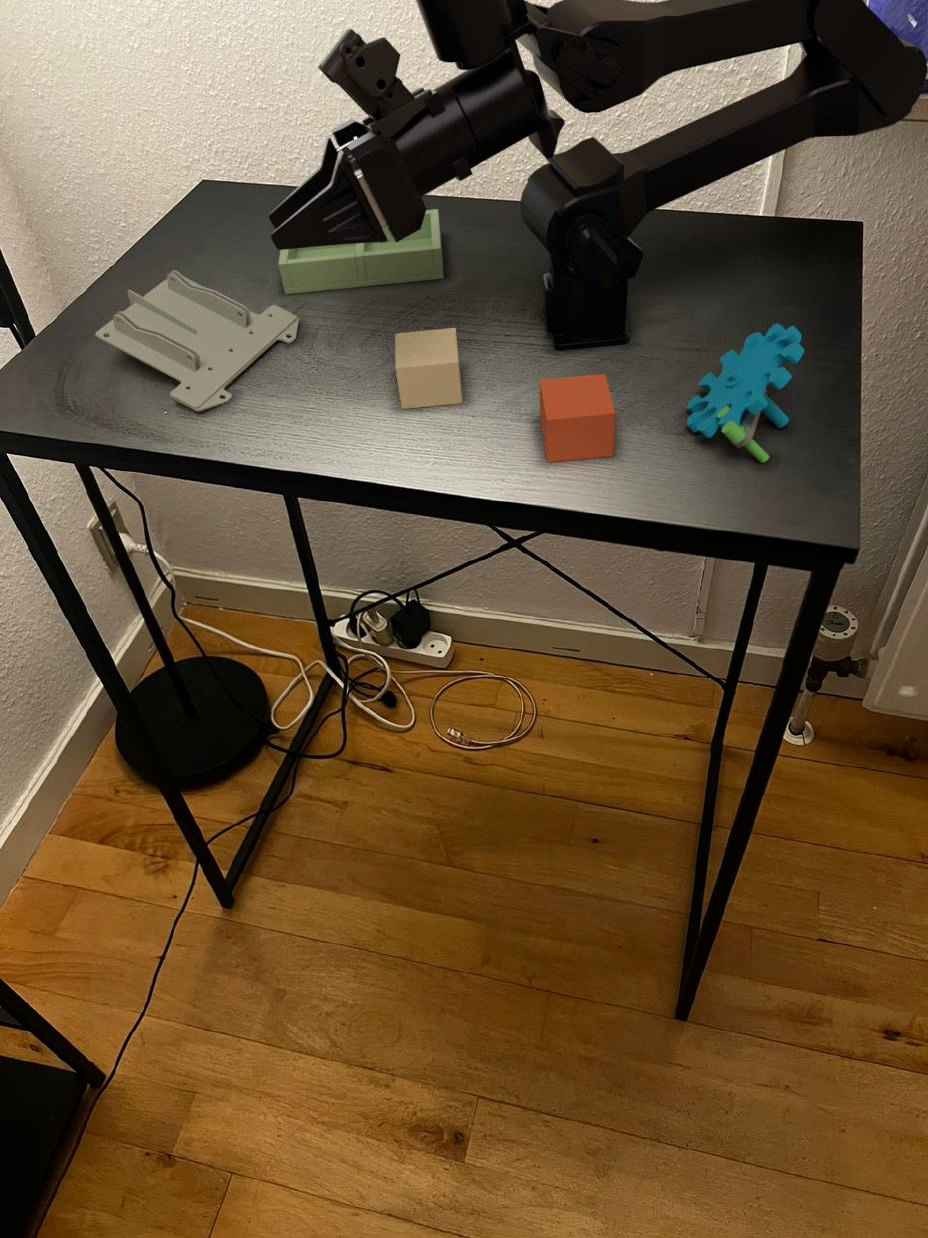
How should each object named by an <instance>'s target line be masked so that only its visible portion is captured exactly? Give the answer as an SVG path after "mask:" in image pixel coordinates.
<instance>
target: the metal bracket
mask: <svg viewBox="0 0 928 1238" xmlns="http://www.w3.org/2000/svg"><path fill="white" fill-rule="evenodd" d="M127 296H128V297H127V298H128V300H129V303H130V306H128V307H127V308H126V309H124V310H119V311H118V312H117V313H115V314H114V315H113V316H112V319H111V320H110V321H109V322H108V323H106V324H105V325H103V326H102V327H101V328H100V329H99V330H97V331H96V332H95V337H96V338H97V339H99V340H101V341H103V342H105V343H107V344H109V345H111V346H112V347H114V348H116V349H118V350H120V351H121V352H124V353H125V354H127V355H129V356H131V357H133V358H134V359H137V360H138V361H141V362H142V363H144V364H146V365H148V366H149V367H152V368H154V369H155V370H157V371H159V372H161V373H163V374H165V375H167V376H169V377H171V378H172V379H174V380H176V381H178V382H179V383H180V384H178V385H177V386H176V387H175V388H174V389H173V390H172V391H170V393H169V396H170V398H171V399H173V400H174V401H176V402H178V403H180V404H182V405H184V406H186V407H187V408H189V409H191V410H193V411H195V412H197V413H200V412H203V411H206V410H209V409H212V408H215V407H218V406H221V405H224V404H227V403H229V402H230V401H231V400H232V399H233V395H232V393H231V392H229V391H227V390H226V389H225V388H226V387H228V386H229V385H230V384H231V383H233V381H235V379H236V378H237V377H239V375H241V374H242V373H243V372H244V371H245V370H246V369H248V368H249V366H251V365H252V364H253V363H254V362H255V361H256V360H257V359H259V358H260V357H261V355H263V354H264V353H266V351H267V350H269V348H271V346H273V345H274V344H275V343H276V342H278V341H281V342H284V343H285V344H289V345H290V344H292V343H294V342H295V341H296V339H297V333H298V328H299V324H300V319H299V318H298V316H297V315H296V314H294V313H292V312H290V311H288V310H286V309H284V308H282V307H280V306H279V305H276V304H272V305H270V306H268V307H267V308H266V309H265V310H264V311H263V312H262V313H260V314H258V313H256V312H253V311H252V310H249V308H248V307H247V306H246V305H244V304H242V303H240V302H238V301H236V300H234V299H233V298H230V297H229V296H226V295H224V294H223V293H220V292H219V291H217V290H214V289H211V288H208V287H205V286H203V285H201V284H199V283H197V282H195V281H193V280H191V279H189V278H187V277H185V276H183V275H182V273H180V272H179V271H178V270H172V271H170V273H167V276H166V279H164V280H163V281H161V282H160V283H159V284H158V285H156V286H155V287H154V288H152V289H151V290H150V291H148V292H147V293H145V295H143V296H142V295H140V294H139V293H136V292H135V291H133V290H131V289H129V290H128V291H127ZM288 336H289V337H288ZM221 397H224V398H221Z"/></svg>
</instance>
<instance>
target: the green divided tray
mask: <svg viewBox="0 0 928 1238" xmlns="http://www.w3.org/2000/svg"><path fill="white" fill-rule="evenodd" d="M440 225H441V224H440V213H439V209H438V208H435V209H426V213H425V216H424V220H423V223H422V226H421V229H420V230H418V231H416V232H415V233H413V234H411V235H409V236H408V237H406V238H404V239H402V240H400V241H399V242H397V243H396V242H395V240H394V239H393V238H392V236H391V234H390V232H389V230H388V228H389V227H388V226H387V227H385V228H383V231H384V233H385V235H386V237H387V240H388V241H387V242H385V243H380V242H371V243H357V244H342V245H330V246H318V247H307V248H296V249H286V250H279V258H278V265H277V266H278V270H279V274H280V278H281V282H282V286H283V289H284V290H283V291H284V295H293V294H303V293H304V294H305V293H312V292H313V293H314V292H323V291H333V290H343V289H354V288H364V287H373V286H383V285H393V284H403V283H412V282H413V283H414V282H422V281H423V282H424V281H433V280H443V279H445V276H444V262H443V261H444V259H443V248H442V247H443V246H442V233H441V226H440Z"/></svg>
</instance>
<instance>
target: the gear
mask: <svg viewBox="0 0 928 1238" xmlns="http://www.w3.org/2000/svg"><path fill="white" fill-rule="evenodd" d="M801 341H802V333H801V332H800V330H798V328H797V327H795V325H791V326H790V327H788V328H787V329H785V327H784V326H783V325H781V324H780V323H774V324H773V325H771V327H770V328H769V329H768V330H767V332H766V333H765V335H763V334H762V333H761V332H760V331H757V332H756V331H755V332H753V333H751V334H749V335H748V336H746V339H745V341H744V345H743V347H742V350H741V352H740V353H739V354H738V353H737V352H736V351H735V350H734V348H733V349H730V350H729V351H727V352H726V353H725V354H723V355H722V356H721V357H720V359H719V362H720V364H721V365H722V369H721V372H720V375H718V376H716V375H715V374H713V372H711V371H710V372H708V373H707V374H706V375H705V376H704V377H703V378H702V379H701V380H700V381H699V383H698V386H699V387H700V388H701V389H702V390H703V391H704V392H705V393H708V394H706V396H704V397H701V396H700V395H699V394H696V395H694V396H692V398H691V399H690V401H689V402H688V404H687V406H686V410H688V411H689V413H690V415H689V416H688V417H687V420H686V426H687V427H688V428H689V429H690V430H691V431H692V432H693V433H697V432H700V433H701V434H702V435H703V436H704V437H706V438H707V439H710V438H712V437H714V435H715V433H716V432H717V431H718V429H719V427H720V428H721V433H723V435H725V437H726V438H728V440H729V442H730V443H732V445H734V447H736V448H738V449H739V448H743V447H745V449H747V450H748V451H749V452H750V453H751V455H753V456H754V457H755V459H757V460H758V462H760V463H761V464H765V463H766V462H768V460H769V459H770V455H769V454H768V452H766V451H765V450H764V449H763V447H762V446H760V445H759V444H758V443H757V442H756V441H755V440H754V439H753V437H754V435H755V432H756V430H757V429H756V428H757V425H758V422H759V418H760V415H761V412H762V413H763V414H764V415H765V416H766V417H767V419H769V421H770V422H772V424H774V425H775V426H776V428H778V429H781V428H784V427H785V426H786V425H787V424H788V423H789V421H790V418H789V417H788V415H787V414H785V412H784V411H783V410H781V409H780V407H779V406H778V405H777V404H776V403H775V402H774V401H773V400H772V399H771V398H770V397H769V396H768V395H767V391H768V389H767V386H768V385H769V384H771V385H772V386H773V387H774V388H775V389H776V390H778V391H779V390H781V389H783V388H784V387H785V386H786V385H787V384H788V383H789V382H790V381H791V379H792V378H793V376H792V374H791V373H790V372H789V371H788V370H787V369H786V368H785V366H781V365H782V364H783V363H786V362H788V364H789V365H795V364H797V363H799V361H800V360H801V358H802V357H803V354H804V352H805V349H804V347H803V346H802V345H801V344H800V342H801Z"/></svg>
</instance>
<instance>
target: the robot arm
mask: <svg viewBox="0 0 928 1238" xmlns="http://www.w3.org/2000/svg"><path fill="white" fill-rule="evenodd" d="M415 3H416V6H417V8H418V11H419V13H420V16H421V19H422V22H423V24H424V27H425V29H426V33H427V35H428V38H429V40H430V44H431V45H432V48H433V51H434V53H435V56H436V59H437V60H438V61H440V62H442V63H450V64H451V63H452V64H453V63H454V65H455V67H456V68H457V69H458V70H460V71H461V70H462V72H461V73H459V74H458V75H455V76H453V77H452V78H450V79H448V80H447V81H445V82H444V83H441V84H440V85H438V86H436V87H435V88H433V89H431V88H427V89H425V88H424V87H418V88H417V89H415V90H413V91H412V92H411V91H410V90H409V89H408V87H407V86H406V85H405V84H404V81H403V80H402V79H401V78H400V77H398V76H397V72H398V68H399V64H400V59H401V53H400V52H399V51H398V50H397V49H396V48H395V47H394V45H392V43H391V42H390V41H388V39H387V38H386V37H384V36H383V37H379V38H377V39H374V40H371V41H369V42H365V41H364V39H363V37H362V36H361V35H360V34H359V33H357V32H356V31H355V30H354V29H352V28H349V29H346V30H345V32H344V33H343V34H342V35H341V37H340V38H339V39H338V41H337V42H336V43H335V45H334V46H333V47H332V49H331V50H330V51H329V53H327V55H326V56H325V58H324V59H323V60H322V62H320V64H319V65H318V69H319V71H320V72H321V73H322V74H323V75H324V76H325V77H326V78H327V79H328V80H329V81H330V82H331V83H332V84H336V85H337V86H339V87H340V88H341V90H343V91H344V93H346V95H347V96H349V98H350V99H351V100H352V101H353V102H354V103H355V104H356V105H357V106H358V107H359V108H360V109H361V110H362V111H363V112H364V113H365V114H366V115H367V117H365V118H363V119H361V121H358V120H356V119H354V118H350V119H348V120H347V121H345V122H343V123H340V124H339V125H338V126H336V127H334V128H333V129H331V130H330V132H331V134H332V137H333V138H334V140H335V142H336V145H334V142H333V140H332V139H331V137H330V136H329V135H327V136H326V137H325V141H324V146H323V151H322V156H321V160H320V164H319V165H318V167H317V168H316V169H315V170H314V171H313V172H312V173H311V174H310V175H309V176H308V177H307V178H306V179H305V180H304V181H303V182H302V183H301V184H300V185H299V186H297V187H296V189H294V190H293V191H292V192H291V193H290V194H289V195H288V196H286V198H285V199H284V200H283V201H282V202H280V203H279V204H278V205H277V207H275V208H274V209H273V210H272V211H271V212H270V213H269V214H268V219H269V222H270V223H271V225H272V226H273V228H274V229H275V230H274V231H272V232H271V233H270V239H271V242H272V243H273V245H274V246H275V248H276V249H277V250H279V251H281V250H286V249H296V248H307V247H318V246H330V245H342V244H357V243H371V242H380V243H385V242H387V241H388V240H387V237H386V235H385V233H384V231H383V228H385V227H387V226H388V227H389V228H388V230H389V232H390V234H391V236H392V238H393V239H394V240H395V242H396V243H397V242H399V241H400V240H402V239H404V238H406V237H408V236H409V235H411V234H413V233H415V232H416V231H418V230H420V229H421V226H422V223H423V220H424V216H425V213H426V210H427V206H426V204H425V202H424V201H423V198H422V197H424V196H426V195H427V194H429V193H431V192H433V191H434V190H436V189H438V188H439V187H442V186H443V185H444V184H446V183H448V182H450V181H452V180H454V179H456V180H458V181H459V182H462V181H464V180H466V179H467V178H469V177H471V176H472V175H473V174H474V173H473V172H472V169H473V168H475V167H477V166H479V165H480V164H482V163H484V162H485V161H487V160H489V159H491V158H493V157H495V156H496V155H499V154H500V153H501V152H503V151H505V150H506V149H508V148H510V147H512V146H514V145H516V144H518V143H519V142H521V141H523V140H525V139H526V138H528V141H529V142H530V143H531V144H532V145H533V147H535V148H536V149H537V151H538V152H539V153H540V154H542V156H543V157H544V159H545V160H546V161H547V162H548V163H545V164H543V165H542V166H540V167H539V168H537V169H536V170H533V172H532V173H531V174H530V175H529V176H528V178H527V182H526V184H525V186H524V188H523V190H522V192H521V197H520V202H519V209H520V216H521V218H522V220H523V222H524V224H525V226H526V228H528V229H529V230H530V232H531V233H532V235H533V236H534V237H535V238H536V239H537V241H539V242H540V244H541V245H542V246H543V247H544V249H545V250H546V251H547V252H548V253H549V256H548V257H549V258H548V261H549V262H548V264H549V272H548V273H544V274H543V275H542V308H543V312H542V313H543V315H542V316H543V320H544V321H543V322H544V325H545V330H546V332H548V334H549V333H550V334H551V338H552V344H553V347H554V349H556V350H562V349H563V350H564V349H574V348H575V349H576V348H586V347H595V346H606V345H614V344H615V345H616V344H625V343H629V342H630V337H631V334H630V331H629V328H628V325H627V310H628V309H627V308H628V291H629V290H628V289H629V280H630V279H633V278H635V277H636V276H637V273H638V271H639V268H640V265H641V263H642V260H643V257H644V251H643V250H642V249H641V248H640V247H639V246H638V245H637V244H636V243H635V242H634V241H633V240H632V239H631V238H630V236H631V235H632V234H633V232H634V231H635V230H636V229H637V227H638V226H639V225H640V224H641V222H642V221H643V220H644V218H645V217H646V216H647V215H648V214H649V213H651V212H652V211H654V210H657V209H658V208H661V207H662V206H665V205H667V204H669V203H671V202H674V201H676V200H678V199H680V198H682V197H685V196H687V195H689V194H691V193H693V192H695V191H697V190H700V189H702V188H705V187H706V186H709V185H711V184H713V183H715V182H717V181H719V180H721V179H723V178H726V177H728V176H731V175H732V174H735V173H737V172H739V171H742V170H744V169H746V168H748V167H750V166H752V165H754V164H757V163H758V162H761V161H763V160H765V159H768V158H769V157H772V156H774V155H776V154H778V153H781V152H783V151H784V150H787V149H789V148H792V147H794V146H795V145H798V144H800V143H802V142H805V141H806V140H809V139H813V138H828V137H829V138H831V137H833V138H834V137H856V136H860V135H863V134H868V133H871V132H876V131H878V130H883V129H885V128H888V127H892V126H894V125H896V124H898V123H899V122H900V121H902V120H903V119H905V118H906V117H908V116H909V114H910V113H911V112H912V111H913V107H914V106H915V104H916V103H917V101H918V100H919V98H920V96H921V94H922V91H923V89H924V86H925V84H926V79H927V75H928V59H927V58H926V55H925V53H924V51H923V50H922V49H920V48H919V47H918V46H916V45H914V44H912V43H910V42H908V41H906V40H904V39H902V38H900V37H898V36H897V35H896V34H895V32H894V31H892V30H891V29H890V28H889V26H887V24H886V23H885V22H884V21H883V20H882V19H881V18H880V17H879V16H878V15H877V14H876V13H875V12H874V11H873V10H872V9H871V8H870V7H869V6H868V5H867V3H866V2H865V0H661V1H645V2H644V1H637V0H636V1H635V0H560V1H557V2H555V3H554V4H552V5H551V6H549V7H548V6H544V5H541V4H537V3H532V2H529V1H528V0H415ZM518 43H519V44H520V45H521V46H522V47H523V48H524V49H526V50H527V51H528V52H529V53H530V54H531V56H532V61H533V66H534V69H535V71H536V72H535V71H534V70H530V69H527V68H525V66H524V65H525V64H524V62H523V59H522V56H521V52H520V50H519V47H518ZM796 44H799V47H800V49H801V51H802V52H803V53H804V54H805V56H804V57H803V59H802V60H801V61H800V62H799V63H798V65H797V66H796V67H795V69H794V70H793V71H792V72H791V74H790V75H789V76H787V77H786V78H784V79H783V80H780V81H777V82H775V83H773V84H772V85H769V86H767V87H764V88H763V89H761V90H759V91H756V92H754V93H752V94H750V95H748V96H745V97H743V98H741V99H738V100H737V101H735V102H732V103H730V104H728V105H726V106H724V107H721V108H719V109H717V110H714V111H713V112H711V113H709V114H706V115H704V116H701V117H700V118H697V119H695V120H692V121H691V122H689V123H687V124H684V125H683V126H680V127H678V128H676V129H673V130H671V131H669V132H667V133H665V134H663V135H660V136H658V137H655V138H654V139H652V140H650V141H647V142H645V143H642V144H641V145H638V146H637V147H634V148H632V149H630V150H628V151H623V152H611V151H610V150H609V149H608V148H607V147H606V146H605V145H603V144H602V143H601V142H600V141H599V140H598V139H597V138H595V137H594V136H591V137H588V138H585V139H583V140H581V141H580V142H578V143H577V144H575V145H574V146H572V147H571V148H569V149H567V150H566V151H563V152H559V153H555V152H556V149H557V145H558V141H559V136H560V132H561V131H562V130H563V128H564V126H565V124H566V121H565V118H563V117H562V116H561V115H559V114H558V113H557V111H556V110H554V109H550V108H549V104H548V101H547V98H546V94H545V91H544V88H543V84H542V81H541V79H542V80H543V81H544V82H545V83H546V84H547V85H548V86H550V88H552V89H553V90H554V91H555V92H556V93H557V94H558V95H559V96H561V98H563V99H564V100H565V101H566V102H567V103H568V104H570V106H572V108H574V109H575V110H577V111H579V112H582V113H585V114H597V113H601V112H605V111H607V110H609V109H612V108H613V107H616V106H618V105H621V104H623V103H626V102H628V101H629V100H632V99H634V98H637V97H639V96H641V95H643V94H644V93H645V92H646V91H648V90H649V88H651V87H652V86H653V85H654V84H655V83H656V82H657V81H659V80H660V79H662V78H663V77H666V76H668V75H670V74H672V73H676V72H679V71H682V70H687V69H691V68H696V67H700V66H705V65H709V64H713V63H719V62H722V61H726V60H727V61H728V60H730V59H731V60H732V59H734V58H735V59H736V58H740V57H743V56H748V55H752V54H756V53H761V52H765V51H769V50H774V49H778V48H783V47H787V46H791V45H796Z"/></svg>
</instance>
